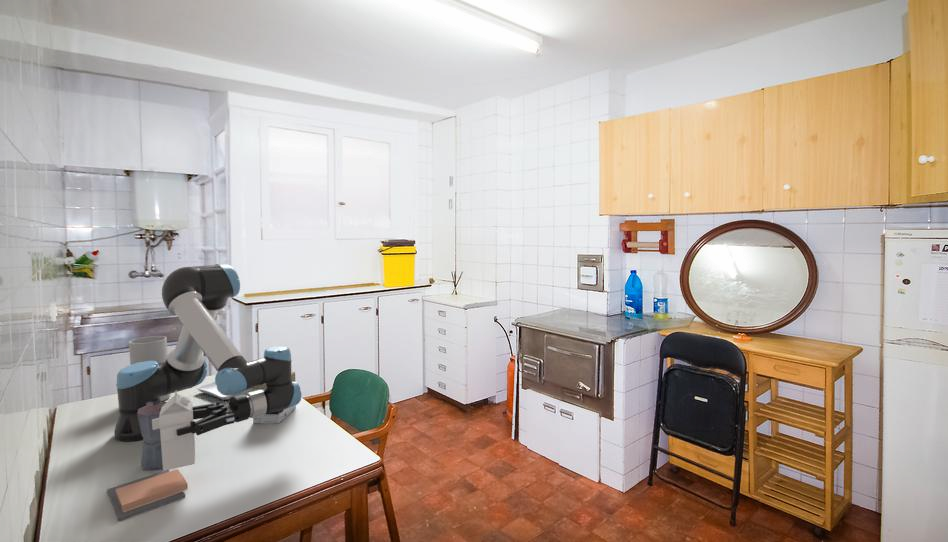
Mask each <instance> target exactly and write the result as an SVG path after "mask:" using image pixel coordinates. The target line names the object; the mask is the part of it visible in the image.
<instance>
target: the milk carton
mask: <svg viewBox="0 0 948 542" xmlns="http://www.w3.org/2000/svg"><path fill="white" fill-rule="evenodd" d="M166 402H167V403H166V404H164V405H163V406H162V408H161V411H160V415H159V422H160V430H163V429H167V428H171V427H175V426H178V425H182V424H186V423H190V426H191V421H194V419H193V407H194V406H193V402H192V401H191V399H190V398H188V397H187V396H181V395H180V394H178V392H177V390H176V391H175V393H174V395H173V396H172V397H171V398H170V399H168V401H166ZM160 436H161V434H160ZM161 449H162V463H163V468H162V471H165V470H169V471H170V470H173V469H174V470H175V469H178V468H182V467H188V466H193V465H195V463H196V441H195V433H194V434H192V433H190V434H186V435H183V436H179V437H176V438H172V439H169V440H165V441H161Z"/></svg>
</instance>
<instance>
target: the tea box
mask: <svg viewBox="0 0 948 542" xmlns="http://www.w3.org/2000/svg"><path fill="white" fill-rule="evenodd" d="M291 376H292V382H296V372H295V371H291ZM265 388H266V383H265V384H262V385H259V386H256V387H253V388H252V391H256V390H261V389H265ZM295 409H297V405H295V406H292V407H289V408H287V409H282V410H279V411H275V412H271V413H267V414H264V415H260V417H258V418H257V417H253V418H252V423H253V424H280V423H281V422H282V421H283V420H284V419H285V418H286V417H288V416H289V415H290V414H291V413H292V412H293V411H294V410H295Z"/></svg>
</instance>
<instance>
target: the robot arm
mask: <svg viewBox="0 0 948 542" xmlns="http://www.w3.org/2000/svg"><path fill="white" fill-rule="evenodd" d="M240 290H241V282H240V278H239V275H238V272H237V271H236V269H234V267H233V266H231V265H229V264H226V263H225V264H223V263H222V264H221V263H220V264H219V263H217V264H210V265H209V264H208V265H195V266H183V267H179V268H177V269H176V270H173V271H172V272H170V273H169V275H167V277H166V279H164V281H163V284H162V287H161V299H162V301H163V304H164V306H165V307H166V309H167V310H168V312H169V313H170V314H171V315H173V316H176V317H177V318H178V319H179V321H180V322H181V323H182V328H181V331H180V333H179V337H178V339H177V343H176V346H175V348H174V349H173V350H171V351H169V353H168V356H167V359H166V361H165V362H161V363H157V362H156V361H144V362H139V363H135V364H132V365H126V366H125V367H123V368H122V369H120V370H119V371H118V372H117V374H116V383H115V385H116V386H115V387H116V389H117V390H116V391H117V400H118V411H119V415H118V418H117V421H116V425H115V428H114V433H113V435H114V439H115V440H116V441H118V442H134V441H135V442H136V441H141V440H143V437H142V434H141V430H140V425H139V421H138V416H137V413H138V409H140V408H142V407H144V403H145V400H148V401H149V402H152V400H154V399H159V401H158V403H159V402H161V399H160V397H161V396H165V395H168V394H175V391H176V390H177V393H179V392H181V391H184V390H187V389H192V388H194V387H197V386H199V385H200V384H202V383H203V382H204V380H205V379H206V376H207V373H208V369H207V367H208V364H207V361H206V359H205V358H204V356H203V355H202V354H204V355H205V356H206V358H207V360H209V362H210V363H211V365H212V366H213V368H214V369H215V370H216V374H215V377H214V378H215V379H214V382H215V384H216V385H217V389H218V391H219V392H220V393H221V394H223V395H226V396H228V395H233V394H237V393H241V392H243V391H245V390H248V389H250V388H253V387H256V386H259V385H262V384H265V383H266V388H265V389H261V390H256V391H252V392H248V393H246V394H241V395H237V396H233V397H231V399H229V402H228V403H220V401H214V402H211V403H206V404H201V405H196V406H192V407H193V421H191V426H190V423H186V424H182V425H178V426H175V427H171V428H167V429H163V430H160V434H161V441H165V440H169V439H172V438H176V437H179V436H183V435H186V434H190V433H192V434H194V435H195V434H196V435H197V436H200V435H202V434H205V433H208V432H211V431H213V430H216V429H218V428H221V427H224V426H227V425H231V424H235V423H239V422H244V421H247V420H249V419H253V417H257V418H258V417H260V415H264V414H267V413H271V412H275V411H279V410H282V409H287V408H289V407H292V406H295V405H296V406H298V404H300V403H301V400H302V391H301V386H300V385H299V383H298V382H296V381H295V382H292V376H291V372H292V353H291V350H290V348H289V347H287V346H282V345H280V346H271V347H268V348H266V349H265V350H264V353H263V357H262V358H259V359H258V358H257V359H255V360H251V361H247V360H246V358H244V356H243V355H242V354H241V352H240V351H239V349H238V348H237V347H236V346H235V344H234V343H233V342H232V340H231V339H230V337H228V335H227V333H226V332H225V330H224V329H222V327H221V326H220V324H219V323H218V321H217V320H216V317H217V316H218V313H219V311H221V310H222V309H224V308H225V307H226V305H227V302H228V299H230V298H234V297H237V296H238V295H239V293H240ZM194 420H197V421H194ZM152 428H153V430H155V429H159V428H160V422H159V418H156V419H152Z"/></svg>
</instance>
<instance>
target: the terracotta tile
mask: <svg viewBox="0 0 948 542" xmlns="http://www.w3.org/2000/svg"><path fill="white" fill-rule="evenodd" d="M169 471H170V472H167V473H164V474H161V475H158V476H155V477H152V478H149V479H146V480H142V481H139V482H136V483H133V484H130V485H127V486H124V487H121V488H118V489H115V490H116V497H117V499H118V501H119V504H120V506H121V509H122V511H123V512H126V511H129V510H132V509H135V508H138V507H140V506H143V505H146V504H149V503H152V502H155V501H157V500H160V499H163V498H166V497H169V496H172V495H174V494H177V493H180V492H185V491H187V490H188V489H189V487H188V481H187V480H186V479H185V477H184V476H183V475H182V473H181V471H180V470H179V469H178V468H176V469H174V470H173V469H172V470H169Z"/></svg>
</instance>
